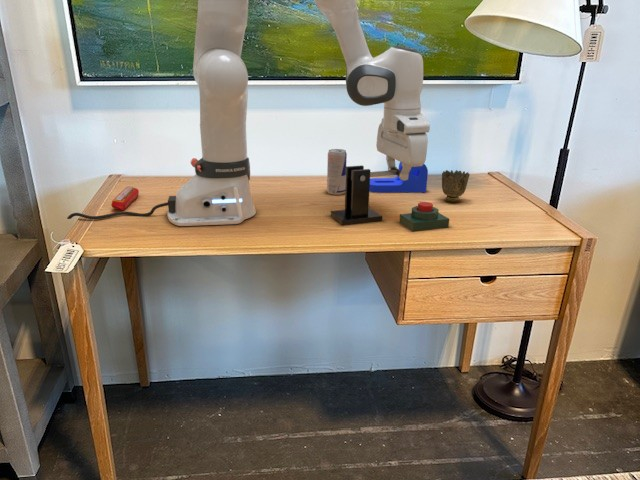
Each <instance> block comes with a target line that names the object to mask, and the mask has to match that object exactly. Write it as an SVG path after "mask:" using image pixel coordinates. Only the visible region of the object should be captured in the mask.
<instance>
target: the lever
mask: <svg viewBox="0 0 640 480" xmlns="http://www.w3.org/2000/svg"><path fill="white" fill-rule="evenodd" d="M395 167H396V166H395ZM395 167H393V168H391V170H390V171H388V170H380V171H379V170H377V171H370V178H378V177H388V176H390V177H391V176H396V177H397V176H400V175H399V173H400V172H401V170H399V168H398V167H397V168H395ZM359 170H362V169H359ZM351 180H352V170H351Z"/></svg>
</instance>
